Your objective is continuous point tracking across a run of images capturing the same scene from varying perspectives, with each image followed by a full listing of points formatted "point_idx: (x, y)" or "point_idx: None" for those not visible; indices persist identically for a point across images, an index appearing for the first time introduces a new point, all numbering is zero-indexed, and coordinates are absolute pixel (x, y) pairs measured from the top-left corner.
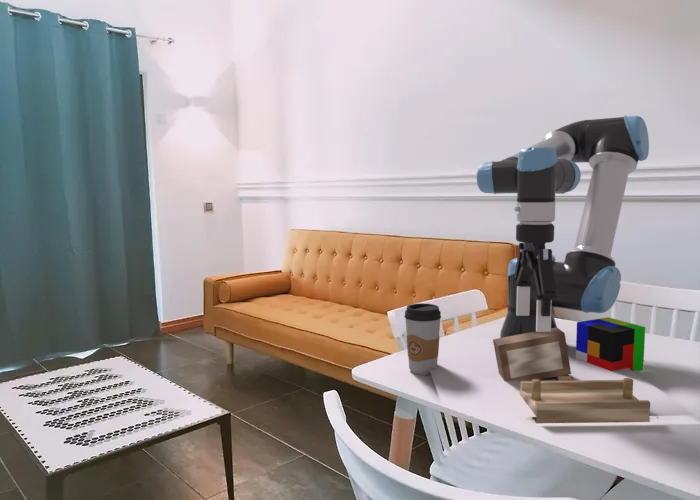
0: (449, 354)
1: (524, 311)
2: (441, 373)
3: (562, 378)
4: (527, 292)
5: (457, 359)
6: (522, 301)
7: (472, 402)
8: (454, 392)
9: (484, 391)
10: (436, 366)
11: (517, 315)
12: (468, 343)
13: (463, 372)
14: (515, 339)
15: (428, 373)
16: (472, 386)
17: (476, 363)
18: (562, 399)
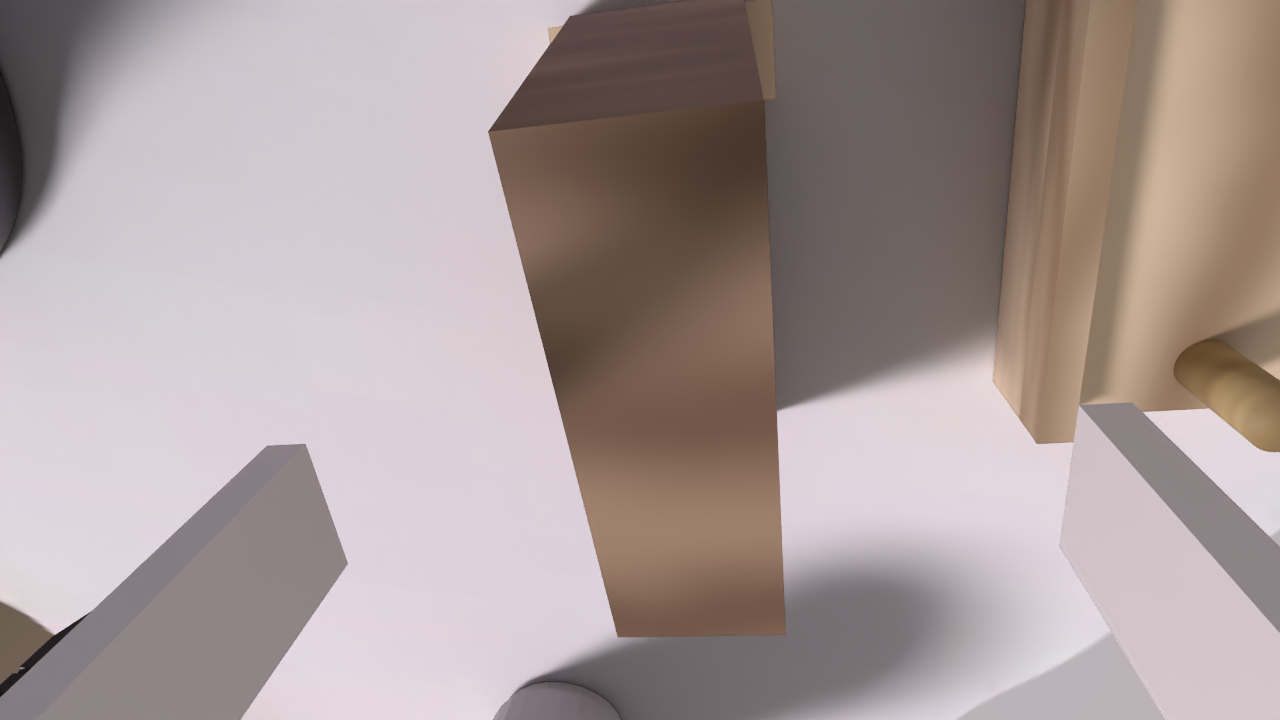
0: None
1: (296, 527)
2: (592, 663)
3: (774, 73)
4: (91, 716)
5: (360, 576)
6: (229, 651)
7: (984, 592)
8: (850, 643)
9: (841, 523)
10: (576, 707)
11: (347, 563)
12: (44, 488)
13: (564, 575)
14: (705, 530)
15: (617, 717)
16: None
17: (404, 498)
18: (1258, 204)
